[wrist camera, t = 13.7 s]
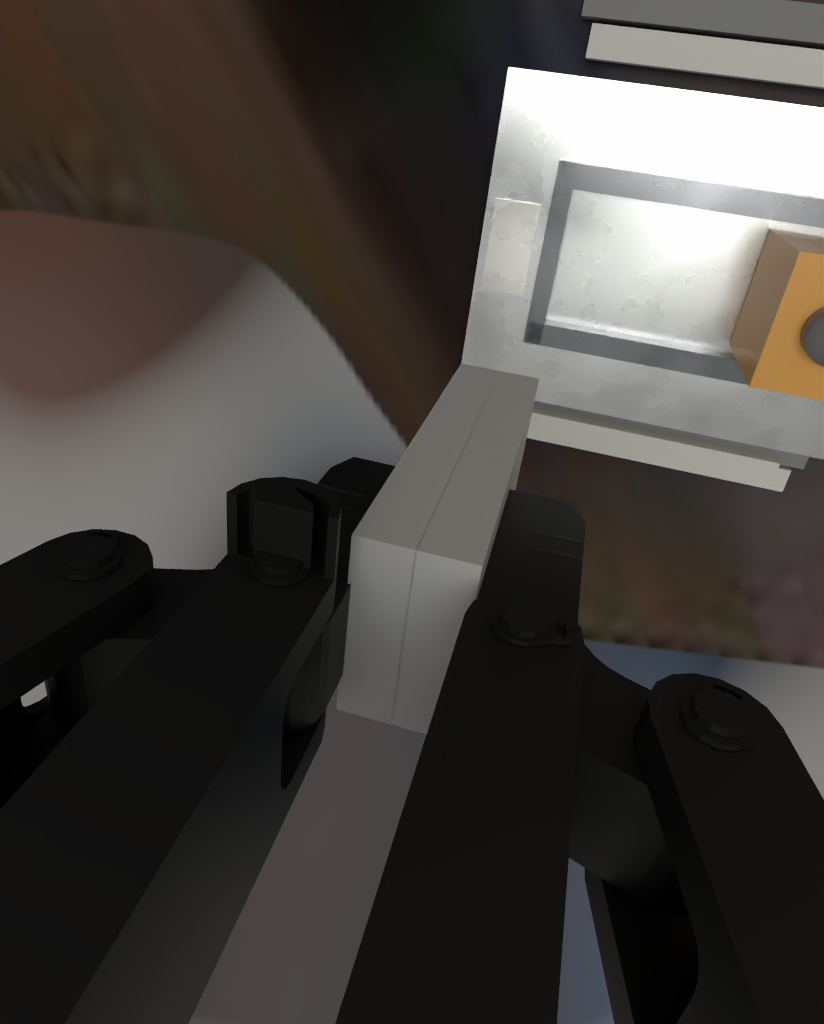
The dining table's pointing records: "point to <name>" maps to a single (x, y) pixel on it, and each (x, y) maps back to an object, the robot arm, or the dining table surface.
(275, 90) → the dining table surface
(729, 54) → the grey long flat bar
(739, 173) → the panel
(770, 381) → the block
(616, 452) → the long thin grey slat
